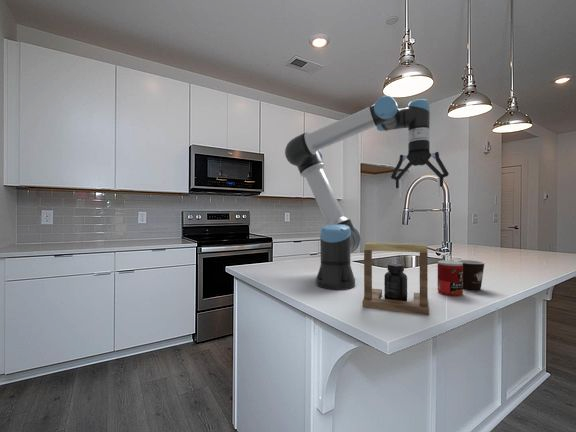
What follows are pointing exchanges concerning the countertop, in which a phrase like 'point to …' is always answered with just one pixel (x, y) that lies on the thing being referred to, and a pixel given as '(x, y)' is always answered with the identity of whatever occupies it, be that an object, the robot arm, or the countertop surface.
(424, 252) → the notched shelf
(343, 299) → the countertop surface
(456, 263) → the canned food
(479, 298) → the countertop surface
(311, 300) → the countertop surface
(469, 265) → the coffee mug
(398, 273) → the supplement bottle
